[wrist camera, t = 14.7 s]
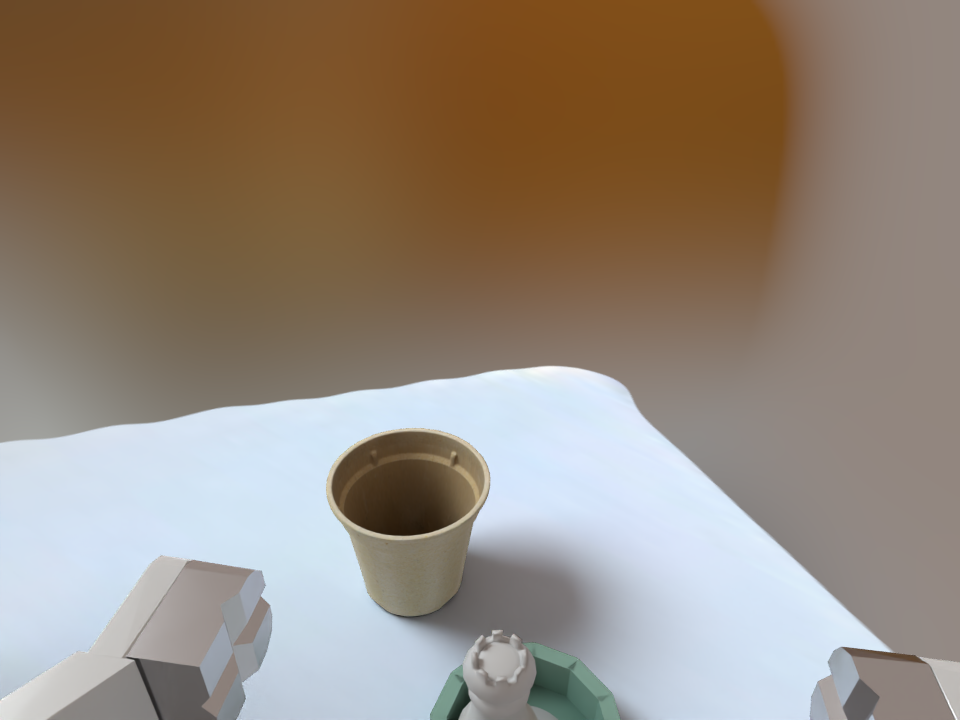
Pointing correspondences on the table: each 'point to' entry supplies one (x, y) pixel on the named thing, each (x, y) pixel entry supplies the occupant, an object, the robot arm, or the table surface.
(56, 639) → the table surface
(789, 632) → the table surface
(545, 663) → the bowl
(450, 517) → the flower pot
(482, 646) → the rook chess piece
